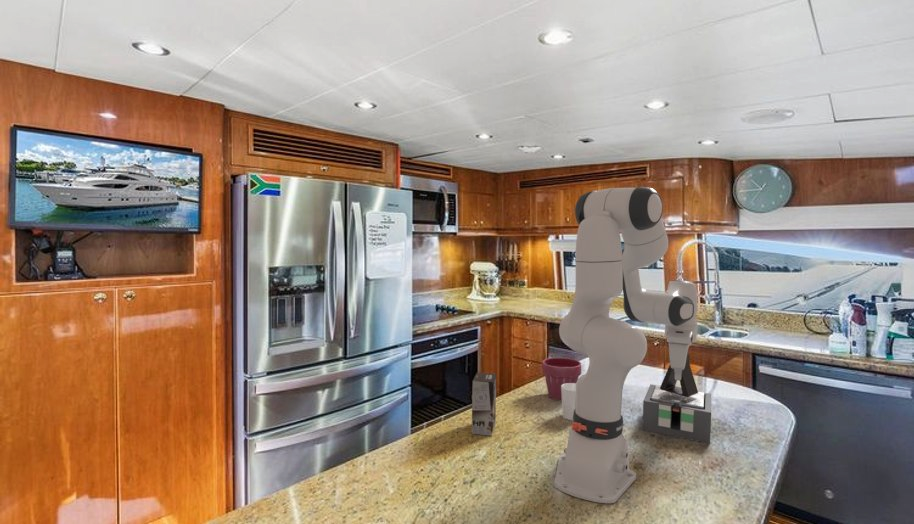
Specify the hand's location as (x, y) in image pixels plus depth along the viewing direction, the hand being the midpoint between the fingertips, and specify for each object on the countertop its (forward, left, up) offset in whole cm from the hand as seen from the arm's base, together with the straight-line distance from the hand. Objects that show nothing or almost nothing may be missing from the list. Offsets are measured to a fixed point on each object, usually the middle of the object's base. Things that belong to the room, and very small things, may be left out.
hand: (678, 376), depth 140 cm
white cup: (-10, +30, -16) cm, 35 cm away
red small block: (-9, 0, -8) cm, 12 cm away
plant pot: (+7, +39, -16) cm, 43 cm away
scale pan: (-1, 0, -7) cm, 7 cm away
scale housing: (0, 0, -16) cm, 16 cm away
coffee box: (-33, +51, -16) cm, 63 cm away
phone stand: (0, 0, -5) cm, 5 cm away
